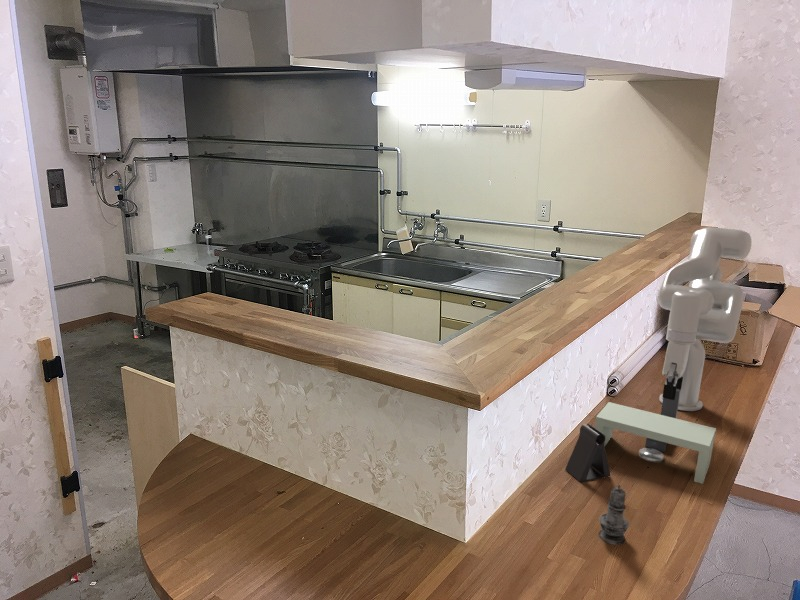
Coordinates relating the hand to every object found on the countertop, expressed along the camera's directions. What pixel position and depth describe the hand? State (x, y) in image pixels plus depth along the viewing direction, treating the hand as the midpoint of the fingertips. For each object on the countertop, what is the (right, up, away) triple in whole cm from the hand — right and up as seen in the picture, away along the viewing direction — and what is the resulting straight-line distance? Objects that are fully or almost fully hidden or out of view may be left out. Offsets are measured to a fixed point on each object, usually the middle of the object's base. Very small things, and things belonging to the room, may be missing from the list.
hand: (671, 393), depth 182 cm
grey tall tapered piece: (-33, -23, -49) cm, 63 cm away
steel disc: (-11, -15, -14) cm, 23 cm away
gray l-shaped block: (-4, -12, -3) cm, 13 cm away
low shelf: (-12, -15, -15) cm, 24 cm away
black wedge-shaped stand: (-31, -16, -24) cm, 42 cm away
